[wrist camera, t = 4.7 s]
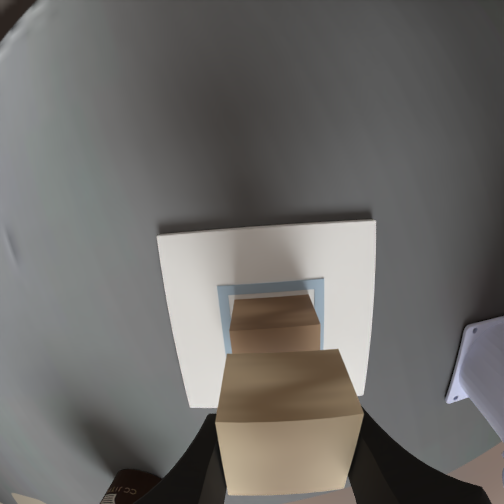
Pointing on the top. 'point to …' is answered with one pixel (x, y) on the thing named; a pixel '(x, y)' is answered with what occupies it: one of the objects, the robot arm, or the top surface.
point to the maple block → (287, 422)
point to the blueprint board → (267, 290)
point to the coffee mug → (129, 487)
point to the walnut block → (274, 325)
